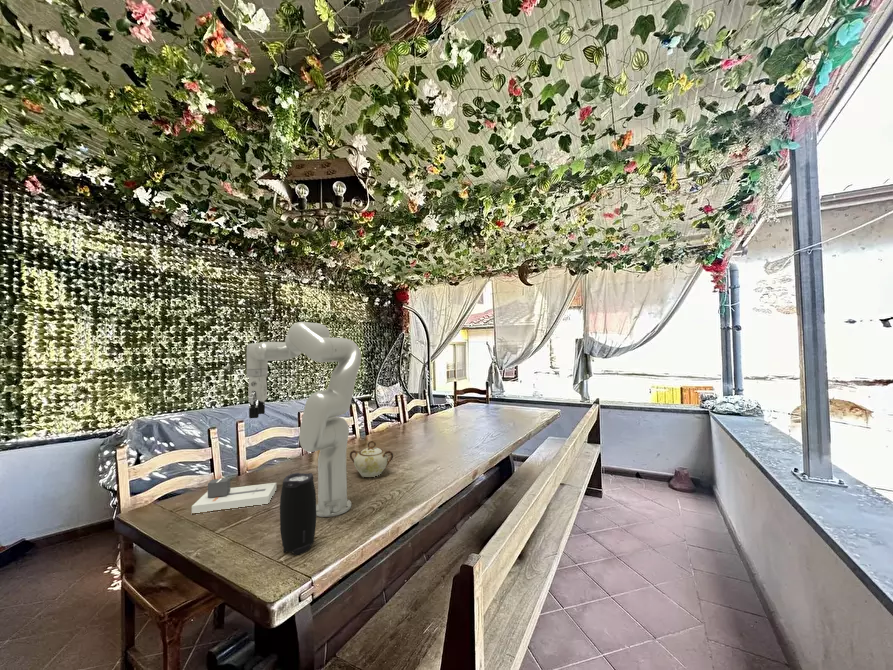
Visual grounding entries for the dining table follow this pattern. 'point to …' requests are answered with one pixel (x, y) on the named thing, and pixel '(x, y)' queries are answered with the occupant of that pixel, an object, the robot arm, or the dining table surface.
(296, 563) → the dining table surface
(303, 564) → the dining table surface
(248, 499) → the board
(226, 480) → the fader tab
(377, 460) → the sugar bowl
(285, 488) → the portable speaker
